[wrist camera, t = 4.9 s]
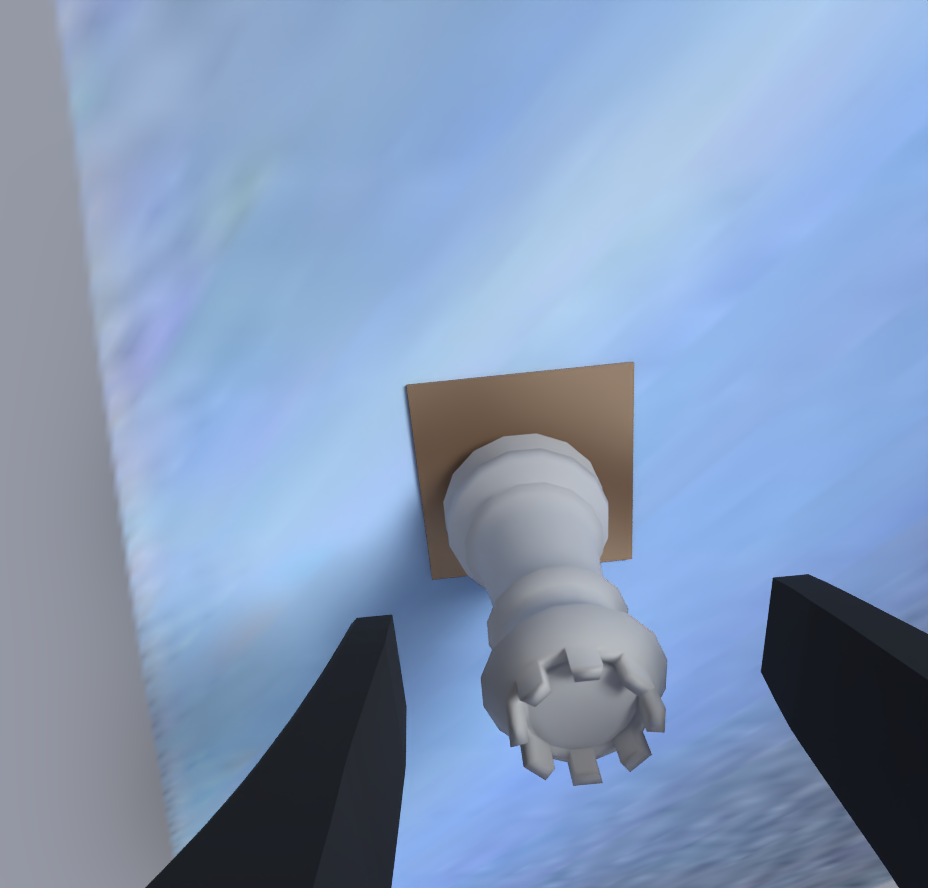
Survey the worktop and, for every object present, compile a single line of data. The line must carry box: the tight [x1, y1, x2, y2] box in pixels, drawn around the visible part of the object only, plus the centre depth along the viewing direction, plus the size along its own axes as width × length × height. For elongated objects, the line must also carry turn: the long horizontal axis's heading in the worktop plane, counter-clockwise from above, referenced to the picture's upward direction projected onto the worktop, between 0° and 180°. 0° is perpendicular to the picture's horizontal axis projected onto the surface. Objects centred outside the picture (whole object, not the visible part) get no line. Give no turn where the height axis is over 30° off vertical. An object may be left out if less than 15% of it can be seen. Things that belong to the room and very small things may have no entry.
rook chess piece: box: [443, 433, 667, 786], centre depth 13 cm, size 4×4×8 cm
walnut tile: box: [407, 362, 634, 580], centre depth 17 cm, size 6×6×1 cm
